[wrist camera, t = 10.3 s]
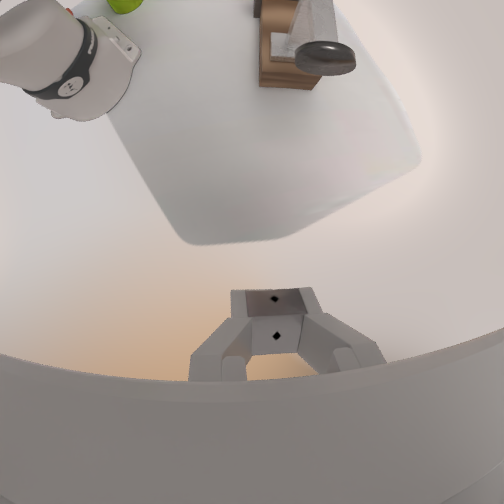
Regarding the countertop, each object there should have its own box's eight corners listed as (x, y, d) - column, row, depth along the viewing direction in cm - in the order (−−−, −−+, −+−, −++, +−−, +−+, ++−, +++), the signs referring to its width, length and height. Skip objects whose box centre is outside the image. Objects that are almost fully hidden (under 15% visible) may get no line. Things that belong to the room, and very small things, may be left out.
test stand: (317, 91, 37) (349, 54, 24) (252, 86, 37) (258, 43, 23) (311, 11, 34) (333, -36, 20) (253, 5, 33) (259, -46, 20)
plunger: (323, 117, 35) (391, 65, 16) (267, 113, 35) (294, 46, 16) (320, 52, 33) (371, -24, 14) (267, 47, 33) (288, -41, 13)
